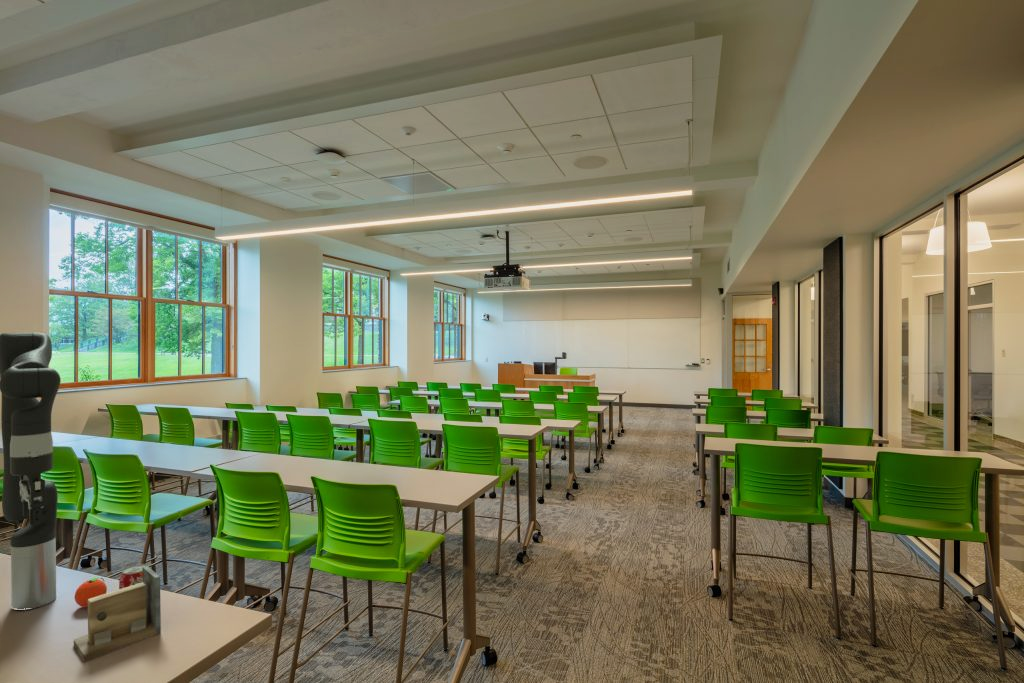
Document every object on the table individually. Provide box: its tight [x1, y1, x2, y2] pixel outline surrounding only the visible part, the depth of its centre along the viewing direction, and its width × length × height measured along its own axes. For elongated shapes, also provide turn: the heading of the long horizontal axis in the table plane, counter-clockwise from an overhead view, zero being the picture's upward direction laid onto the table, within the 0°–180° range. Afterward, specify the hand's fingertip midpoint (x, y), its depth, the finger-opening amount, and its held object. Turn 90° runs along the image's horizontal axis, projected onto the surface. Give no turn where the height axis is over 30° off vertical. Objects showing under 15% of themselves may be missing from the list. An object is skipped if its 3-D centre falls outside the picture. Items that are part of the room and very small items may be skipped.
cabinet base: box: [73, 565, 162, 663], centre depth 127 cm, size 10×15×14 cm, turn 141°
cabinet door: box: [87, 582, 146, 645], centre depth 127 cm, size 4×11×10 cm, turn 141°
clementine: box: [74, 577, 108, 608], centre depth 144 cm, size 8×7×7 cm
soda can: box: [118, 563, 150, 590], centre depth 139 cm, size 7×7×12 cm
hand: (32, 520), depth 124 cm, fingers open, 8 cm apart
